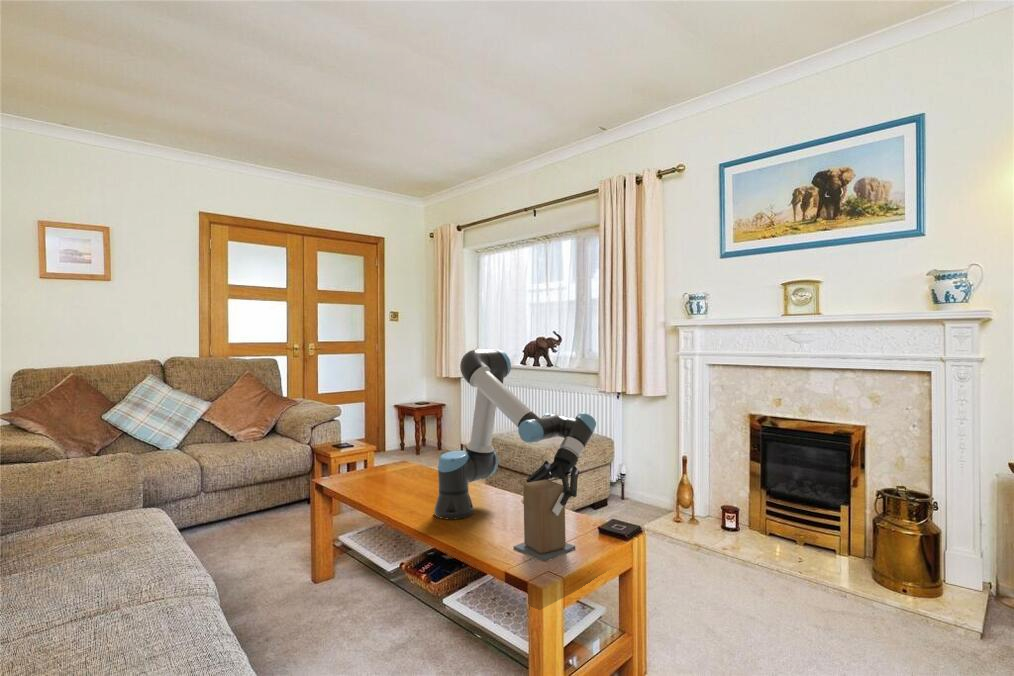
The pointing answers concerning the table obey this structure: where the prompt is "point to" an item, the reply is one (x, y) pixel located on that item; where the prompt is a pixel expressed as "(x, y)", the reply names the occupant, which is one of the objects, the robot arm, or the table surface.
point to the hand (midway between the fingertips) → (538, 508)
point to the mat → (545, 556)
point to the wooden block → (543, 516)
